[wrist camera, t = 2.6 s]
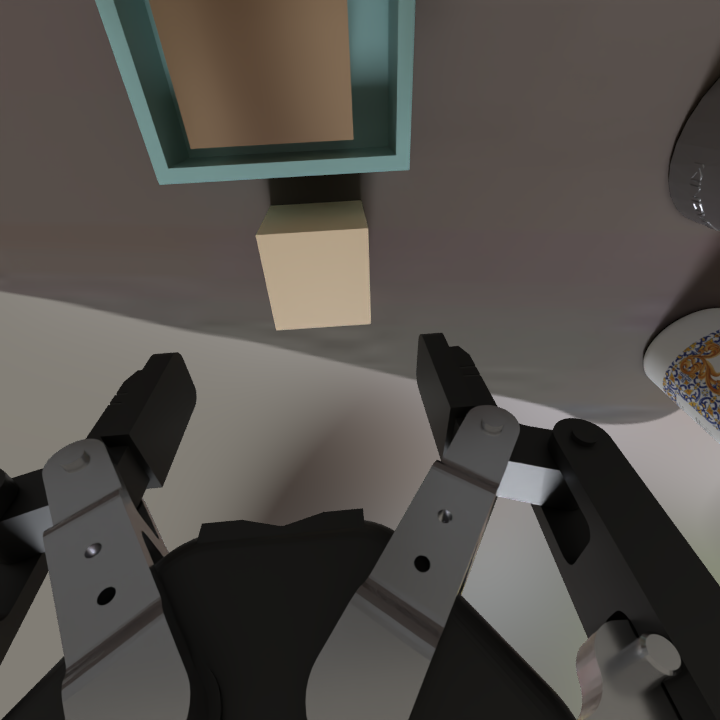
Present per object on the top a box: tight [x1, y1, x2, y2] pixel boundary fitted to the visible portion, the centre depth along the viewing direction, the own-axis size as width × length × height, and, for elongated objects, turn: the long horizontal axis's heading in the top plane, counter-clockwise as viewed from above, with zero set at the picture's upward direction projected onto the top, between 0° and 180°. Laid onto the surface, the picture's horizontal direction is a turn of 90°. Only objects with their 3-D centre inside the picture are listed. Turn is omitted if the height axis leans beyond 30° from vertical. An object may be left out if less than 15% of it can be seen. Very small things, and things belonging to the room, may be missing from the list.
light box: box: [256, 200, 371, 330], centre depth 20 cm, size 5×5×5 cm
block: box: [149, 0, 354, 149], centre depth 14 cm, size 6×6×5 cm
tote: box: [95, 0, 415, 185], centre depth 15 cm, size 11×9×4 cm
